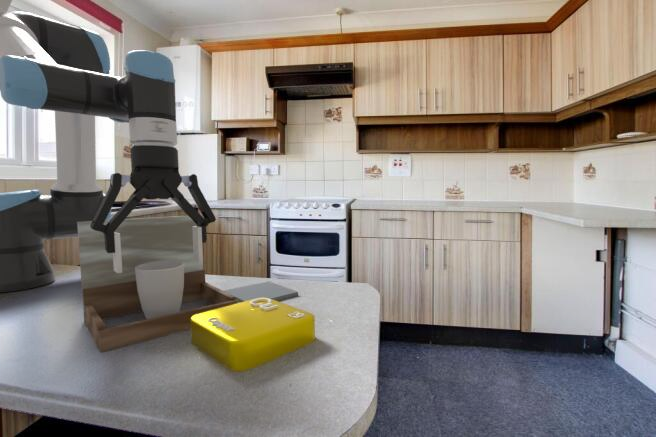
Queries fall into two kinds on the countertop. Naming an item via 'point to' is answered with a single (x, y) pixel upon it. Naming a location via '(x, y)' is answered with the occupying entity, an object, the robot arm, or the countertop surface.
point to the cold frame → (121, 288)
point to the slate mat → (262, 292)
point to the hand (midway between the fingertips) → (160, 265)
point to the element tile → (251, 332)
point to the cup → (160, 287)
